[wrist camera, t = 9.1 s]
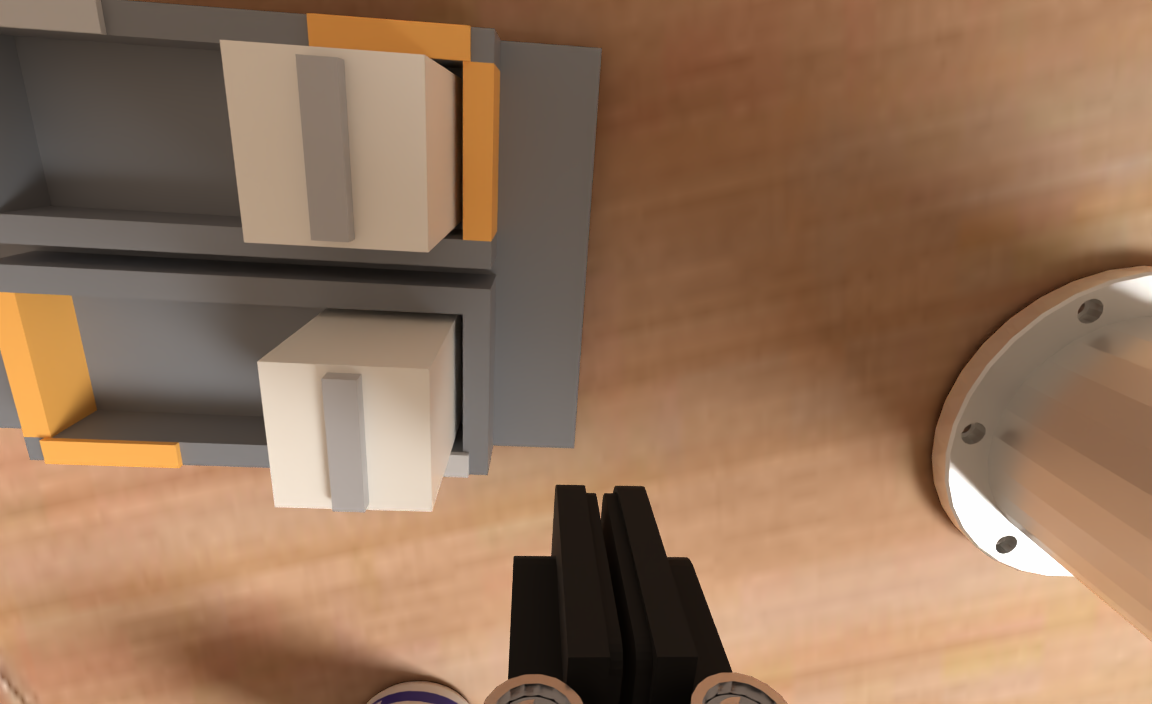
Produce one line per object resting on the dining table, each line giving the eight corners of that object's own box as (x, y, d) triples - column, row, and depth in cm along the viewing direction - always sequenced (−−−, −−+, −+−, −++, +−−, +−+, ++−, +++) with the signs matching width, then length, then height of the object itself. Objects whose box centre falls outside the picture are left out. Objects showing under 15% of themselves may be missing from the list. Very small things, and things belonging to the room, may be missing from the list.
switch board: (599, 52, 18) (608, 36, 15) (573, 435, 23) (576, 481, 20) (-101, 0, 17) (-240, -30, 14) (12, 414, 21) (-75, 459, 18)
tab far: (461, 307, 20) (426, 375, 14) (461, 418, 21) (428, 521, 15) (335, 301, 19) (248, 367, 14) (343, 414, 21) (268, 516, 15)
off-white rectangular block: (461, 79, 17) (420, 52, 12) (462, 220, 19) (425, 255, 13) (319, 68, 17) (208, 36, 12) (330, 212, 18) (235, 245, 13)
